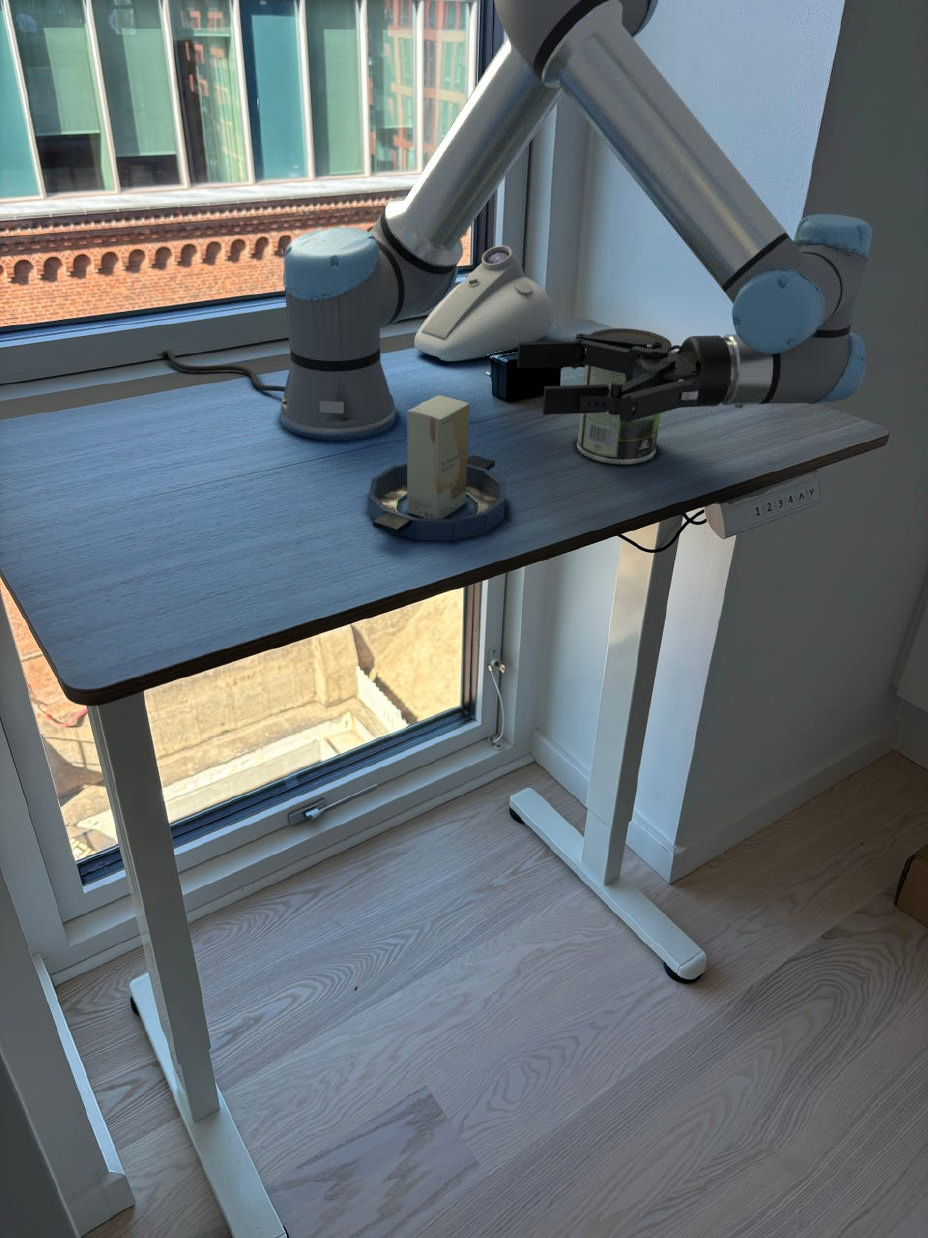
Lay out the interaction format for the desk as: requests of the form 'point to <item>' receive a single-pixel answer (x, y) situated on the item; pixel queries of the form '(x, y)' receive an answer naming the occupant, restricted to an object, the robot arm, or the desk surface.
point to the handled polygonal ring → (478, 488)
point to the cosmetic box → (437, 457)
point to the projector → (487, 312)
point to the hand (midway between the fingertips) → (530, 376)
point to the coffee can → (606, 432)
